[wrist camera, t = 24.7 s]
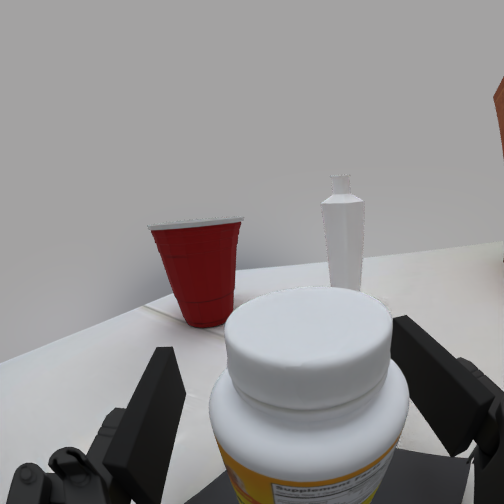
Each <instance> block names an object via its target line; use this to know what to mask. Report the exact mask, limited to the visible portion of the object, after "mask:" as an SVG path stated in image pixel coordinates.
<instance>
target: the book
mask: <svg viewBox="0 0 504 504" xmlns="http://www.w3.org/2000/svg"><path fill="white" fill-rule="evenodd" d="M493 98H494V103H495V107H496V112H497V117H498V122H499V128H500V134H501V140H502V148H503V157H504V77H503V79H502V81H501V83H500V85H499V87H498V89H497V91H496V93H495V94H494V97H493ZM503 262H504V260H503Z"/></svg>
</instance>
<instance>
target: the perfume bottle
mask: <svg viewBox="0 0 504 504" xmlns="http://www.w3.org/2000/svg"><path fill="white" fill-rule="evenodd" d="M349 176H350V175H334V176H330V177H331V178H332V190H333V195H331V196H330V197H329V198H328V199H326V200H325V201H323V202H322V203H321V208H322V215H323V223H324V229H325V238H326V246H327V254H328V263H329V273H330V283H331V287H338V288H345V289H351V290H355V291H359V292H360V286H361V274H362V259H363V240H364V201H363V200H362V199H359V198H358V197H356V196H354V195H353V194H351V192H350V180H349Z"/></svg>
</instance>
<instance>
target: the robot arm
mask: <svg viewBox="0 0 504 504" xmlns="http://www.w3.org/2000/svg"><path fill="white" fill-rule="evenodd" d="M390 354H391V359H392V360H393V361H394V362H395V363H396V364H397V365H398V367H399V368H400V370H401V371H402V373H403V375H404V377H405V379H406V382H407V385H408V390H409V397H410V398H411V400H412V401H413V403H414V404H415V405H416V407H417V408H418V410H419V411H420V413H421V414H422V415H423V417H424V418H425V420H426V421H427V422H428V424H429V425H430V427H431V428H432V430H433V431H434V433H435V434H436V435H437V437H438V438H439V440H440V441H441V443H442V444H443V446H444V447H445V449H446V450H447V452H448V453H449V455H450V456H451V458H453V457H455V456H456V455H458V454H460V453H462V452H464V451H465V450H467V449H468V447H469V445H470V444H471V442H472V440H473V439H474V441H475V442H476V443H477V445H476V447H475V448H474V450H473V451H472V453H471V455H470V456H469V458H468V459H467V462H466V464H469V463H470V461H471V460H472V458H473V457H474V460H473V462H472V464H474V504H504V392H503V391H502V390H501V389H500V388H499V387H498V386H497V385H496V384H495V383H494V382H493V381H491V380H490V379H489V378H488V377H487V376H486V375H484V373H483V372H482V371H480V370H478V368H477V367H476V366H475V365H474V364H473V363H472V362H470V361H468V360H466V359H464V358H461V357H460V358H457V359H456V358H455V357H454V356H452V355H451V354H450V353H449V352H448V351H447V350H446V349H445V348H444V347H443V346H441V345H440V344H439V343H438V342H437V341H436V340H435V339H434V338H432V337H431V336H430V335H429V334H428V333H427V332H426V331H424V330H423V329H422V328H421V327H420V326H419V325H417V324H416V323H415V322H414V321H413V320H412V319H410V318H409V317H408V316H407V315H405V316H400V317H396V318H393V329H392V338H391V346H390ZM185 397H186V391H185V388H184V385H183V381H182V378H181V375H180V371H179V368H178V364H177V361H176V357H175V353H174V350H173V347H156V349H155V351H154V353H153V355H152V357H151V359H150V361H149V363H148V365H147V367H146V369H145V371H144V373H143V375H142V377H141V379H140V381H139V383H138V385H137V388H136V390H135V392H134V394H133V396H132V398H131V400H130V402H129V404H128V406H127V408H126V409H124V408H115V409H114V410H112V411H111V412H110V413H109V414H108V415H107V416H106V418H105V420H104V421H103V423H102V427H100V429H99V431H98V435H96V437H95V439H94V441H93V443H92V445H91V447H90V449H89V451H88V453H87V455H86V456H85V454H84V453H83V452H82V451H80V450H79V449H77V448H74V447H64V448H61V449H59V450H57V451H56V452H54V453H53V454H52V456H51V457H50V459H49V463H48V465H49V467H50V468H51V469H52V470H53V471H54V472H55V473H45V472H44V471H43V470H42V469H41V468H40V467H39V466H38V465H37V464H34V463H25V464H23V465H21V466H19V467H18V468H17V469H16V471H15V473H14V476H13V479H12V483H11V486H10V490H9V494H8V498H7V502H6V504H130V503H131V499H132V500H133V501H134V502H135V503H136V504H161V499H162V494H163V490H164V485H165V481H166V476H167V472H168V467H169V463H170V459H171V454H172V450H173V446H174V442H175V437H176V433H177V429H178V425H179V421H180V417H181V413H182V409H183V405H184V401H185Z"/></svg>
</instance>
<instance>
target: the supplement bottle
mask: <svg viewBox="0 0 504 504" xmlns="http://www.w3.org/2000/svg"><path fill="white" fill-rule="evenodd" d="M392 329H393V320H392V316H391V314H390V312H389V310H388V308H387V307H386V306H385V305H384V304H383V303H381V302H380V301H379V300H377V299H376V298H374V297H372V296H370V295H368V294H365V293H362V292H359V291H355V290H351V289H345V288H338V287H299V288H291V289H285V290H280V291H276V292H272V293H268V294H265V295H262V296H259V297H256V298H254V299H252V300H249V301H248V302H246V303H244V304H242V305H241V306H239V307H238V308H237V309H235V310H234V311H233V312H232V313H231V314H230V316H229V317H228V319H227V320H226V323H225V328H224V335H225V342H226V349H227V357H228V359H227V368H226V369H225V370H224V371H223V373H222V374H221V375H220V376H219V378H218V380H217V381H216V383H215V385H214V387H213V390H212V393H211V396H210V402H209V415H210V421H211V424H212V428H213V432H214V435H215V438H216V441H217V444H218V447H219V450H220V453H221V456H222V459H223V461H224V464H225V467H226V470H227V473H228V475H229V478H230V480H231V483H232V487H233V489H234V491H235V493H236V496H237V498H238V500H239V503H240V504H370V502H371V500H372V498H373V497H374V494H375V493H376V491H377V489H378V487H379V485H380V483H381V481H382V478H383V477H384V474H385V472H386V470H387V467H388V465H389V463H390V461H391V458H392V456H393V453H394V451H395V448H396V446H397V444H398V441H399V438H400V435H401V433H402V430H403V427H404V425H405V421H406V417H407V413H408V409H409V390H408V385H407V382H406V379H405V377H404V375H403V373H402V371H401V370H400V368H399V367H398V365H397V364H396V363H395V362H394V361H393V360H392V359H391V354H390V346H391V338H392Z"/></svg>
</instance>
